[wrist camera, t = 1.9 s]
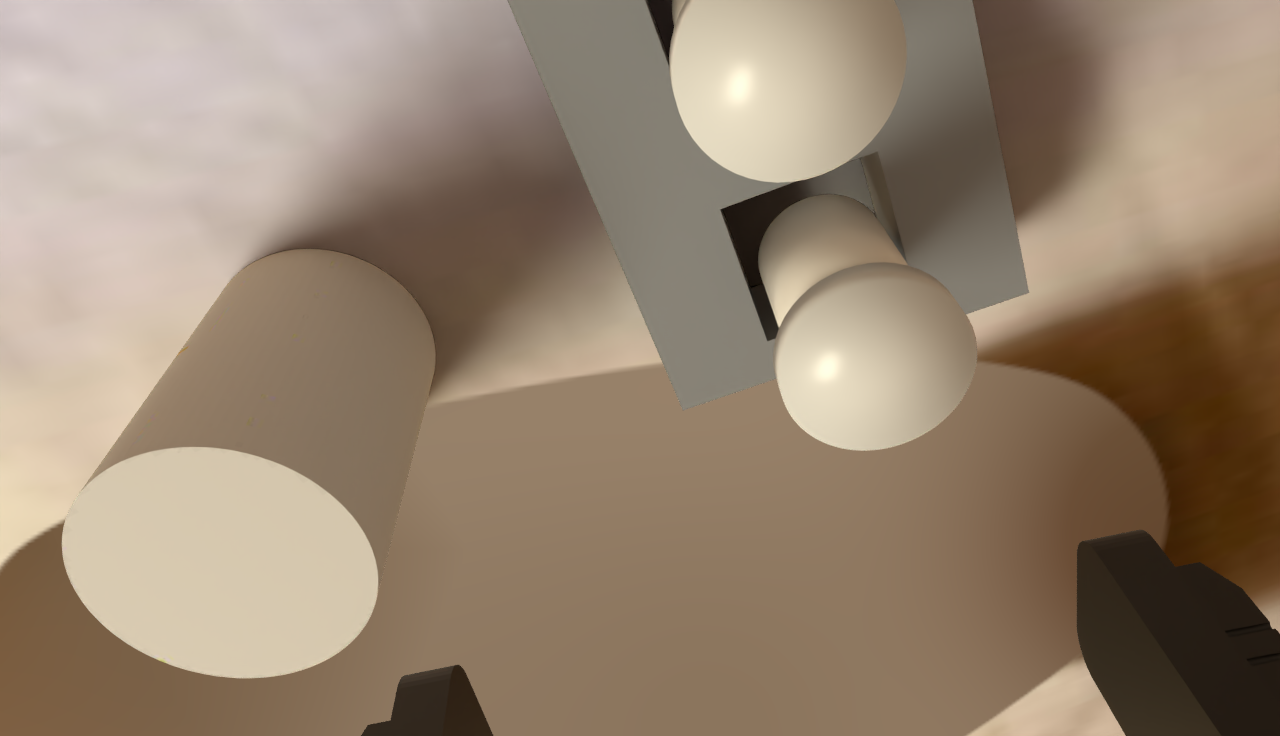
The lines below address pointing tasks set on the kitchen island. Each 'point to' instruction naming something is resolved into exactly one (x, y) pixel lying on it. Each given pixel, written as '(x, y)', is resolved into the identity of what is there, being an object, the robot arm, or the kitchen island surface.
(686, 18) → the mid plunger
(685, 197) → the panel
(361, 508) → the white cylinder
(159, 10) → the kitchen island surface
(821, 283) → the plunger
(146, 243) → the kitchen island surface
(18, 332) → the kitchen island surface
